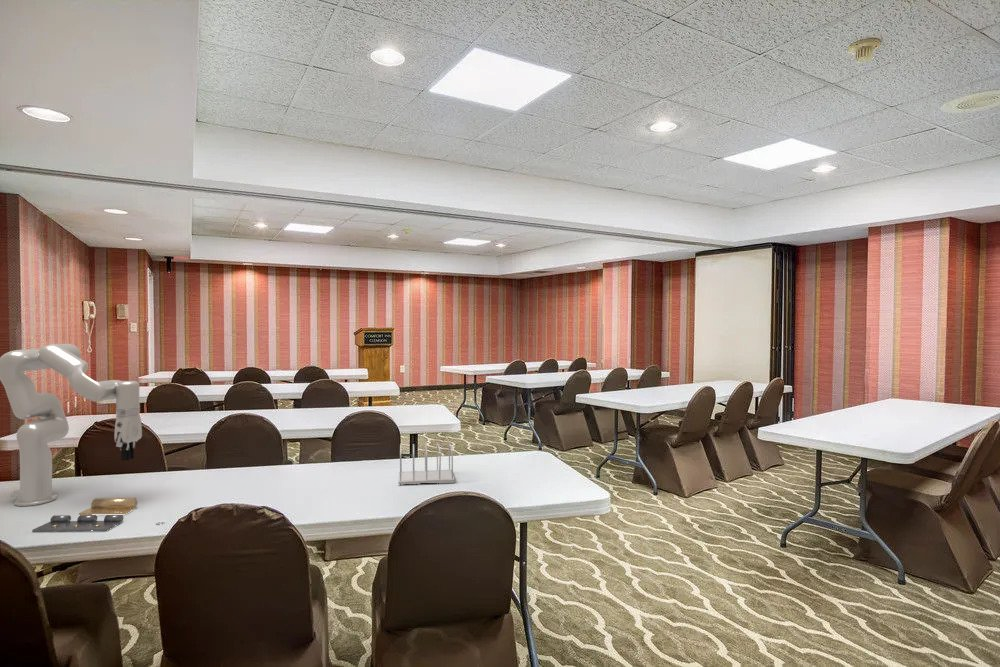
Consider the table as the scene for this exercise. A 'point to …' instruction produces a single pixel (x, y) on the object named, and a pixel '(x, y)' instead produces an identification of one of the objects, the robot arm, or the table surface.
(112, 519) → the steel hinge leaf
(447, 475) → the file sorter
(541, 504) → the table surface
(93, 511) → the bronze hinge leaf
